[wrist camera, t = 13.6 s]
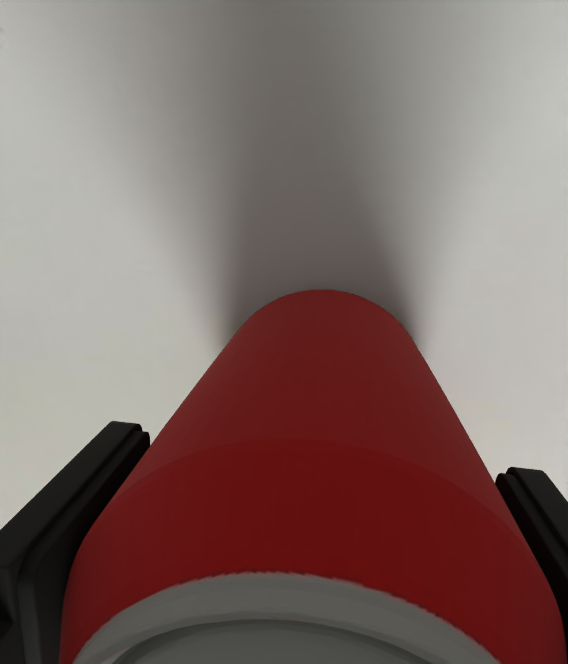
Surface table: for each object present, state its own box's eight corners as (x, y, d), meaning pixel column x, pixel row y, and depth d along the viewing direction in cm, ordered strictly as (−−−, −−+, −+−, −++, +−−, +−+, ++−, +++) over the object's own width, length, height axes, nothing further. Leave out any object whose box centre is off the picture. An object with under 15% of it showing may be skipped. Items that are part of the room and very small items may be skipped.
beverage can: (190, 394, 17) (-120, 812, 5) (301, 241, 15) (189, 379, 3) (339, 498, 17) (348, 1083, 6) (464, 364, 15) (842, 839, 4)
